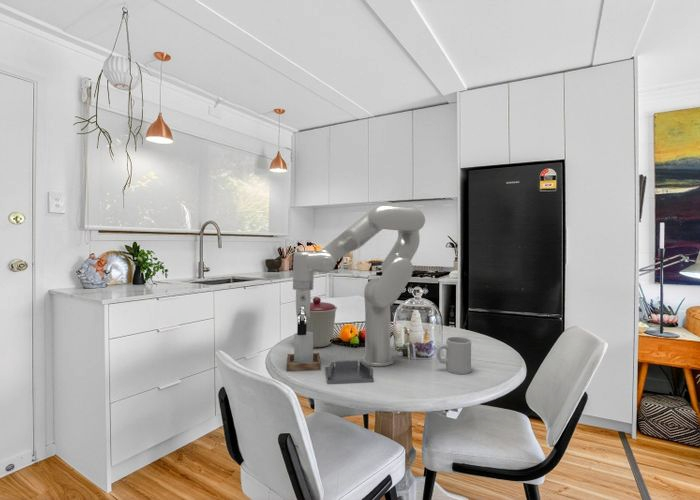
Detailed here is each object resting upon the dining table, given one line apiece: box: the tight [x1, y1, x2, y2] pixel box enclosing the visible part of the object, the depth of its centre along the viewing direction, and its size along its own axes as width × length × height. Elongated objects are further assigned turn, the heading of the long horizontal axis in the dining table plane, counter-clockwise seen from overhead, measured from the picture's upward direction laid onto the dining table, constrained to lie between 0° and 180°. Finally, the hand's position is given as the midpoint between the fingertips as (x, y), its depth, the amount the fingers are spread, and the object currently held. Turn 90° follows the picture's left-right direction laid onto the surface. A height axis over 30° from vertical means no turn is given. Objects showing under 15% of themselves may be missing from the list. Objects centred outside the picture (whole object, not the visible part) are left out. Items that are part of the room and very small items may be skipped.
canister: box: [306, 296, 338, 349], centre depth 168 cm, size 18×18×21 cm
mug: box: [436, 336, 472, 375], centre depth 136 cm, size 12×8×11 cm
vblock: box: [324, 359, 375, 385], centre depth 130 cm, size 15×13×4 cm
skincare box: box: [293, 331, 314, 363], centre depth 141 cm, size 6×4×12 cm
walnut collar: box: [286, 352, 322, 372], centre depth 141 cm, size 12×12×2 cm
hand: (301, 331), depth 141 cm, fingers open, 9 cm apart
